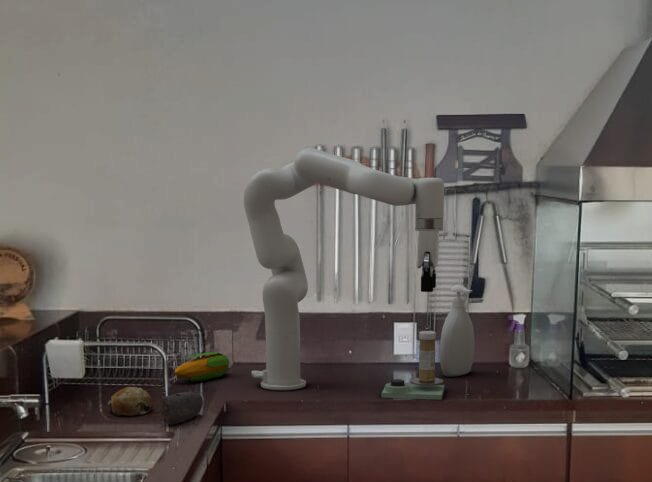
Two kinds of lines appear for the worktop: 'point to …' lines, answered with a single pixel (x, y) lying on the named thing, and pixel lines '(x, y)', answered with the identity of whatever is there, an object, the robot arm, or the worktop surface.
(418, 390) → the scale
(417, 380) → the platter
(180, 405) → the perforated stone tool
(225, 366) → the corn
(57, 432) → the worktop surface
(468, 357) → the soap bottle
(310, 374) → the worktop surface
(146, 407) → the bread roll
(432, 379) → the sprinkles bottle
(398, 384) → the power button
